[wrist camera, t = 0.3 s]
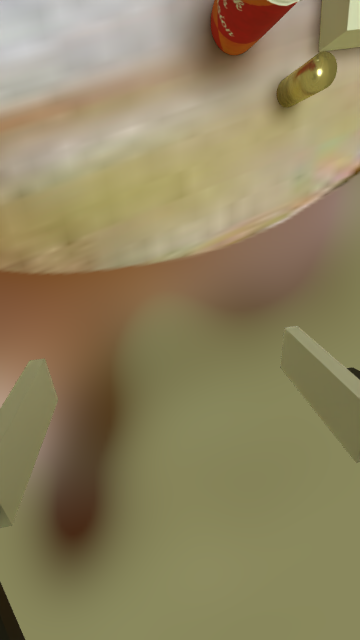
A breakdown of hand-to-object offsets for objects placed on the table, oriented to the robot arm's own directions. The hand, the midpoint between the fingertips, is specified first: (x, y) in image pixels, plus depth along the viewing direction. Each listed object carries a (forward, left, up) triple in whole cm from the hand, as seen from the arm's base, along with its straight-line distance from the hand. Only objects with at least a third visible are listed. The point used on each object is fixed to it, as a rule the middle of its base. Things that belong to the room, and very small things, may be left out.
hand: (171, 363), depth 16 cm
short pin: (-17, +20, -28) cm, 38 cm away
